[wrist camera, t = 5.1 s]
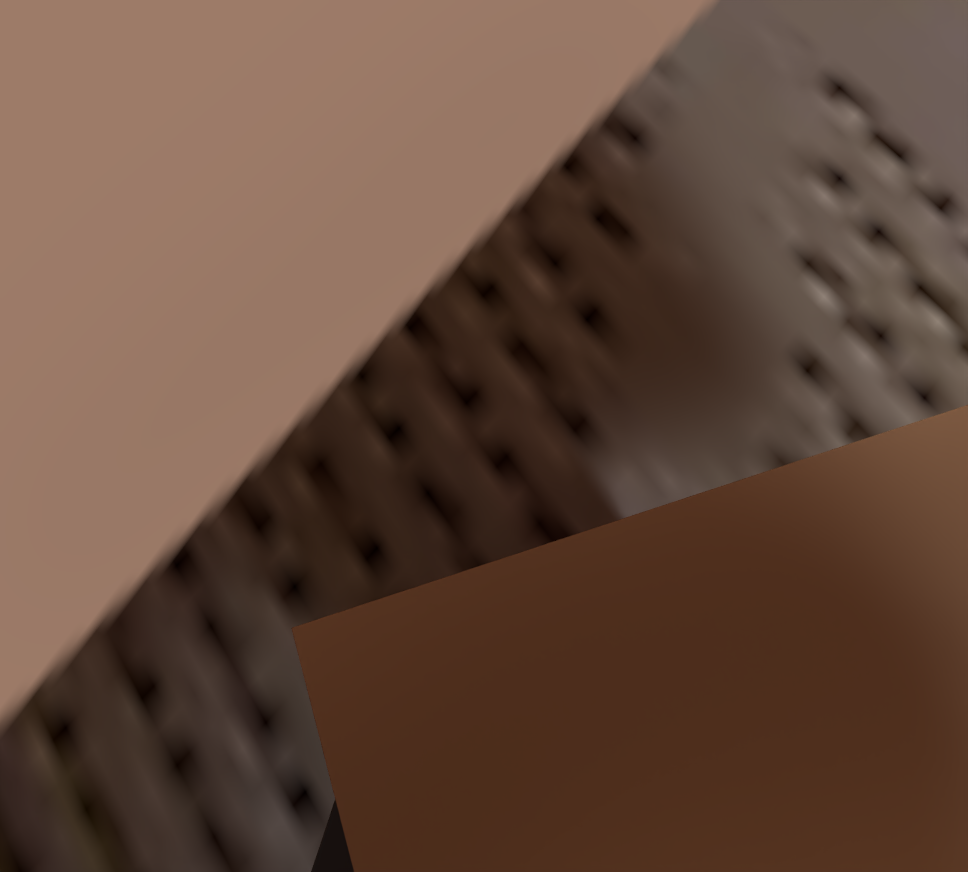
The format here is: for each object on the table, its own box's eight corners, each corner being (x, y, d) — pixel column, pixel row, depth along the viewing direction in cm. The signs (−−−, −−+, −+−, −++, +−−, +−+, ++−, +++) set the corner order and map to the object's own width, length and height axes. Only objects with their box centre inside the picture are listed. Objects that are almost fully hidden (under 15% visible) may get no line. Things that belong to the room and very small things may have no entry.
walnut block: (750, 818, 15) (1437, 1244, 4) (498, 911, 14) (555, 1649, 4) (653, 563, 16) (996, 395, 5) (418, 642, 16) (293, 628, 5)
